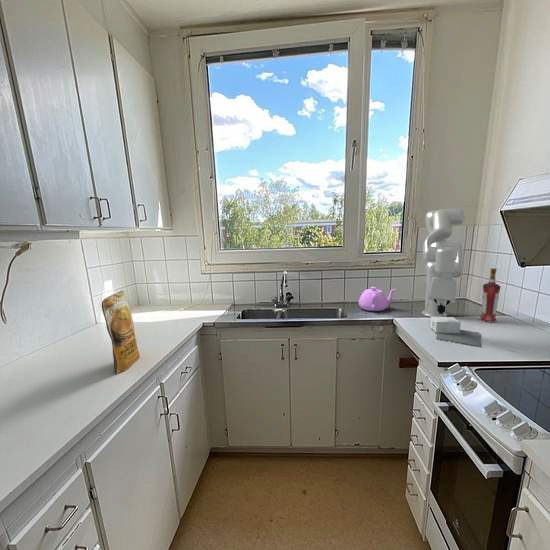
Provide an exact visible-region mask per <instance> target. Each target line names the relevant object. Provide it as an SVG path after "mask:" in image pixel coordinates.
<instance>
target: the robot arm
mask: <svg viewBox="0 0 550 550" xmlns="http://www.w3.org/2000/svg"><path fill="white" fill-rule="evenodd" d="M465 222H466V213H465V210H463V208H444V209H443V208H442V209H436V210H435V209H434V210H430V211H428V212H427V213H426V214H425V225H426V229H427V231H428V236H427V237H426V238H425V240H424V242H423V244H422V245H423V247H422V248H423V249H422V250H423V252H422V254H423V255H422V256H423V260H424V261H425V262H427V263H426V265H425V273H426V288H425V289H426V290H425V304H424V309H423V310H422V311H421V314H422V315H423V316H424V317H429V318H431V317H448V314H447V313H446V306H447V305H449V304H454V303H456V294H457V292H456V291H457V283H456V279H457V278H461V277H462V275H463V269H464V268H463V266H464V265H463V259H464V258H463V254H464V253H463V252H464V251H463V245H462V244H461V242H458V241H448V238H450V237H451V236H452V234H453V226H461V225H463V224H464V223H465Z"/></svg>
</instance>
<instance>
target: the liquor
mask: <svg viewBox="0 0 550 550" xmlns="http://www.w3.org/2000/svg"><path fill="white" fill-rule="evenodd" d="M497 270H498V269H497V268H495V267H492V268H489V277H488V283H487V282H486V283H484V284H483V285H482V297H481V298H482V301H481V302H482V305H481V316H480V319H481V320H482V321H483V320H485V321H484V322H486V321H491V322H490V323H493V322H495V321H497V318H496V317H497V310H498V309H497V308H498V304H499V303H498V302H499V298H500V297H499V296H500V292H501V286H500V285H499V284H497V282H496V274H497ZM492 321H493V322H492Z"/></svg>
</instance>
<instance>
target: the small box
mask: <svg viewBox="0 0 550 550" xmlns="http://www.w3.org/2000/svg"><path fill="white" fill-rule="evenodd" d="M429 326H430V328H431V330H433V331H434V333H435V334H438V333H458V334H460V330H461V321H459V320H457V319H456V318H455V317H454V316H447V317H430V325H429Z"/></svg>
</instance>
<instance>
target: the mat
mask: <svg viewBox="0 0 550 550" xmlns="http://www.w3.org/2000/svg"><path fill="white" fill-rule="evenodd" d="M436 339H440V340H439V341H442V340H445V341H444V342H448V341H451V342H450V343H453V342H455V343H454V344H459V343H460V345H465V346H469V347H472V346H473V347H477V348H481V344H480V332H477V331H471V330H464V329H460V334H458V333H436V338H435V340H436Z"/></svg>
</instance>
